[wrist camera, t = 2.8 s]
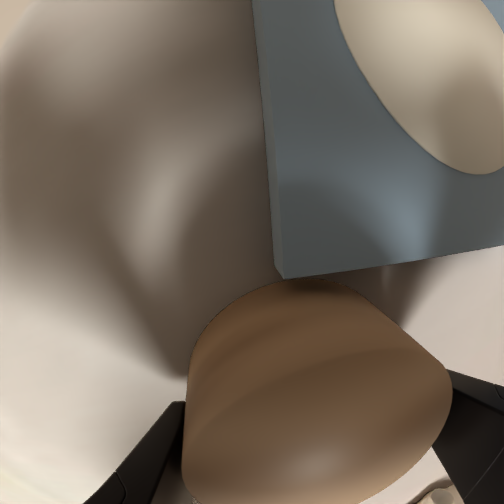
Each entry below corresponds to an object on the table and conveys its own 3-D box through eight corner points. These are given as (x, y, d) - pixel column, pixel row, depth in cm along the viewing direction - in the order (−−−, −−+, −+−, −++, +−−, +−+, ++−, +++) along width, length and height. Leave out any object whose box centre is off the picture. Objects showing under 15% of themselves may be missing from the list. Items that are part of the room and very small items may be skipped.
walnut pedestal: (371, 419, 11) (412, 483, 7) (207, 450, 10) (211, 532, 6) (394, 265, 9) (481, 313, 5) (169, 293, 8) (140, 380, 4)
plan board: (528, 231, 10) (546, 237, 8) (274, 265, 8) (284, 280, 7) (482, -19, 6) (496, -26, 5) (239, -93, 5) (242, -113, 4)
